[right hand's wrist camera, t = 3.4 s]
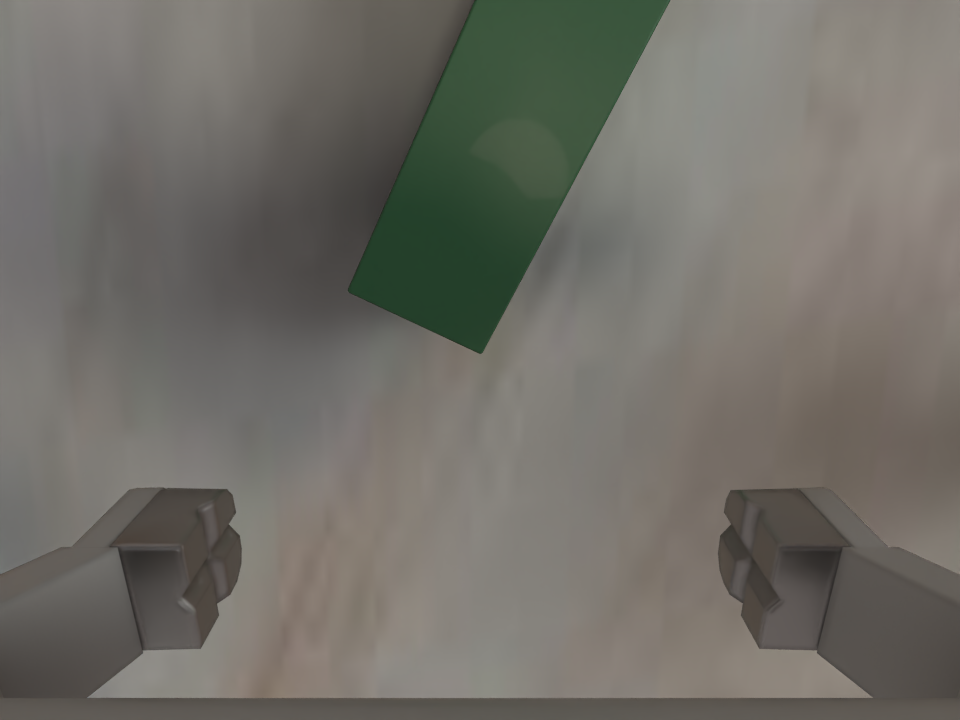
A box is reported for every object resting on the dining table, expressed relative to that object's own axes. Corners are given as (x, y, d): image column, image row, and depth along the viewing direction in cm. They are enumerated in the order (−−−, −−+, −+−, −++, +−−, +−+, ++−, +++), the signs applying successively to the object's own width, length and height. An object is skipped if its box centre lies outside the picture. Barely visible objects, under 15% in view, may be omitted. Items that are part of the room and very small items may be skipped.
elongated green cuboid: (556, -151, 24) (595, -277, 16) (673, -76, 25) (759, -165, 17) (376, 252, 29) (346, 292, 22) (478, 301, 30) (481, 355, 22)
